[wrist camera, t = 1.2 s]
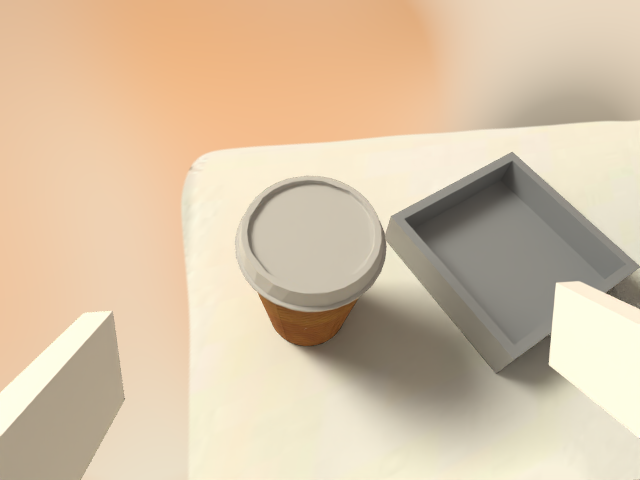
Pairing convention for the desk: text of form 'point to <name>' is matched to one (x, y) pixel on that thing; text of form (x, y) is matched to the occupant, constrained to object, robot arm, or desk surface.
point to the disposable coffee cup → (310, 254)
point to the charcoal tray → (503, 255)
